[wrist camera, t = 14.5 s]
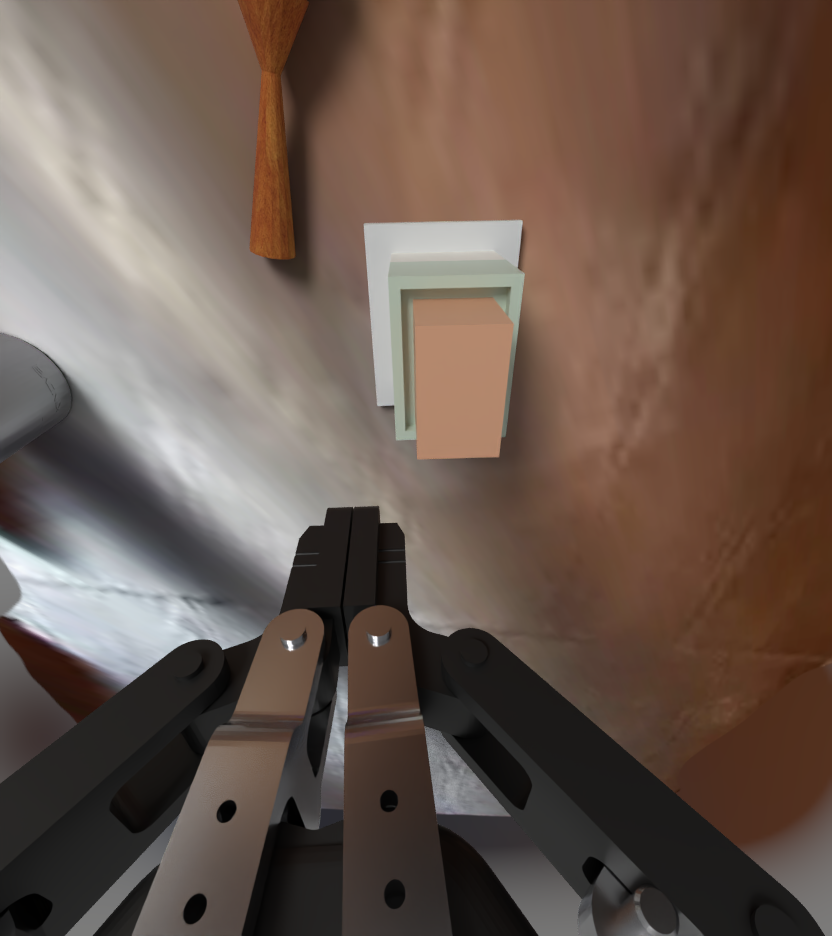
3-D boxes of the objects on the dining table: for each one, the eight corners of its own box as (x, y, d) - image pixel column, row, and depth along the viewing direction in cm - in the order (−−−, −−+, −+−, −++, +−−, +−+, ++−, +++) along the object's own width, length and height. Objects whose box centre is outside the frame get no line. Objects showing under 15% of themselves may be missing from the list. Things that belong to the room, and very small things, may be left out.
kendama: (214, 249, 30) (169, -264, 18) (254, 237, 35) (240, -175, 23) (294, 270, 30) (304, -231, 18) (323, 255, 35) (347, -149, 22)
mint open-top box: (501, 398, 41) (529, 459, 32) (377, 401, 41) (370, 463, 32) (519, 219, 33) (564, 233, 24) (364, 223, 33) (349, 238, 23)
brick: (483, 412, 31) (498, 457, 26) (415, 414, 31) (417, 459, 26) (492, 297, 26) (513, 323, 21) (412, 299, 26) (415, 326, 21)
